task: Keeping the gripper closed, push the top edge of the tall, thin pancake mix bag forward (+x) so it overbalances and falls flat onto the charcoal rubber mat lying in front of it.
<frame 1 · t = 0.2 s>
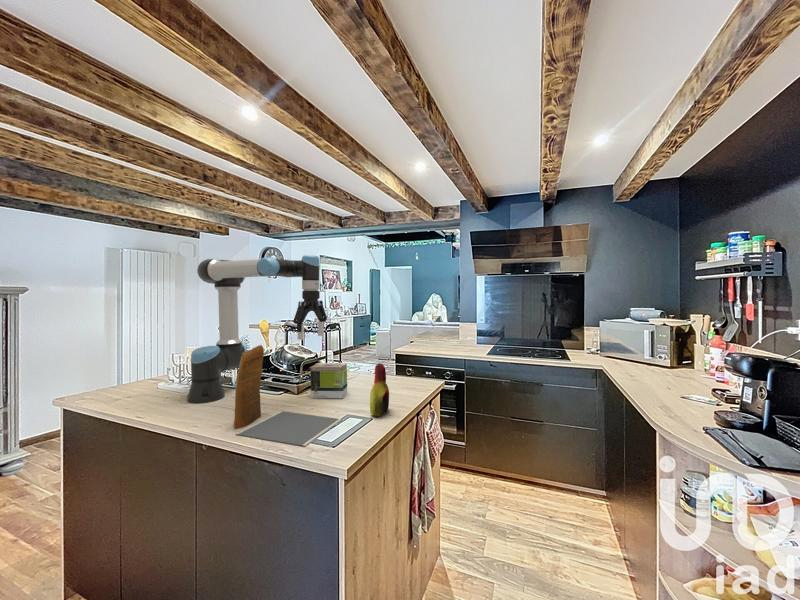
hand: (311, 337, 156), 29 cm above the countertop, fingers open, 13 cm apart
bottle: (380, 413, 141), on the countertop
pancake mix bag: (249, 421, 133), on the countertop
tea box: (329, 396, 165), on the countertop
mat: (291, 427, 127), on the countertop
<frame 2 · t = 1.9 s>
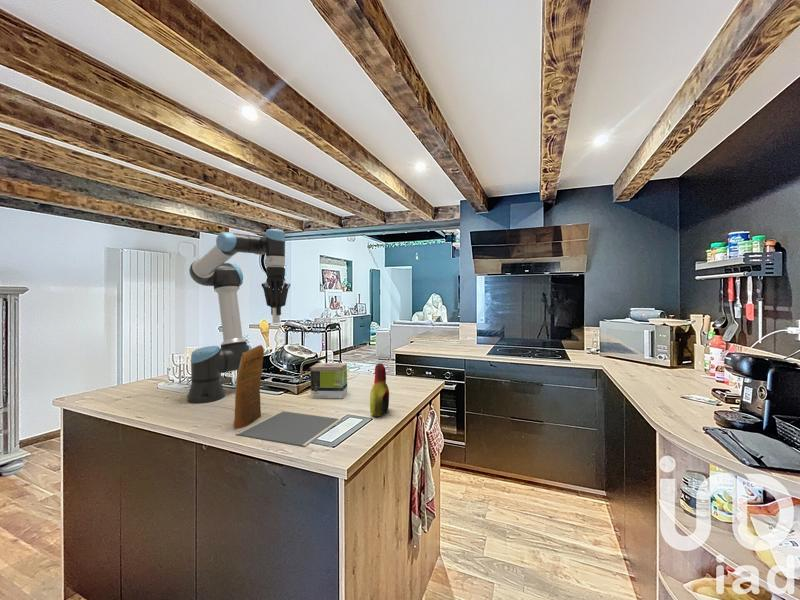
hand: (276, 322, 147), 36 cm above the countertop, fingers closed
nothing on the countertop moved.
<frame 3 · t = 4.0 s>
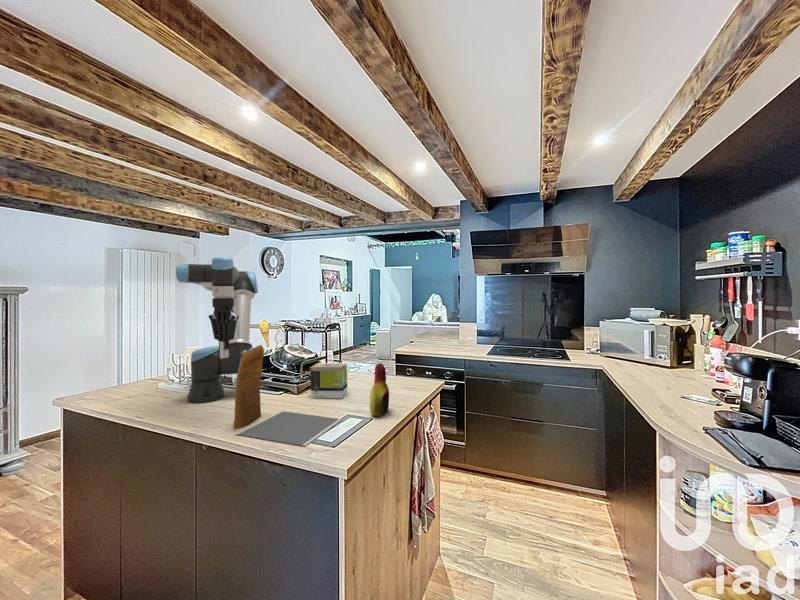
hand: (224, 357, 136), 24 cm above the countertop, fingers closed
nothing on the countertop moved.
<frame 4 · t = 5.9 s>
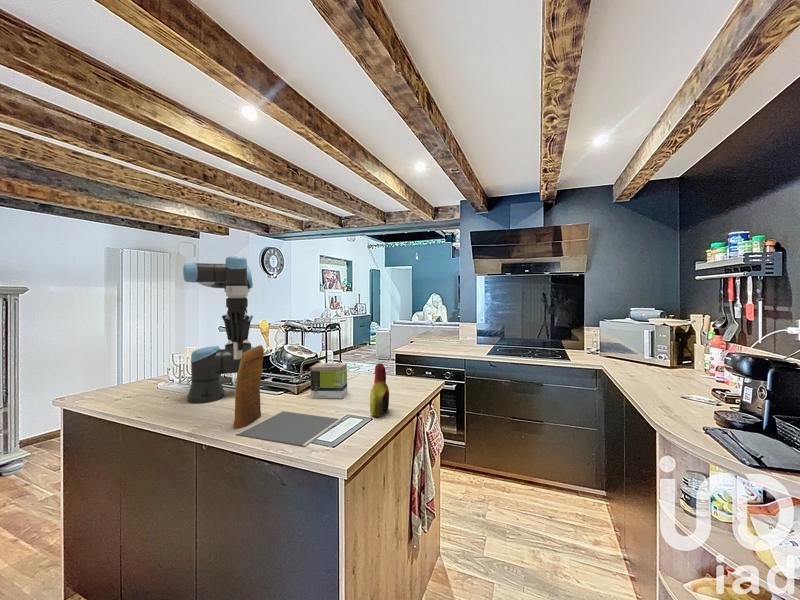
hand: (238, 358, 134), 24 cm above the countertop, fingers closed
nothing on the countertop moved.
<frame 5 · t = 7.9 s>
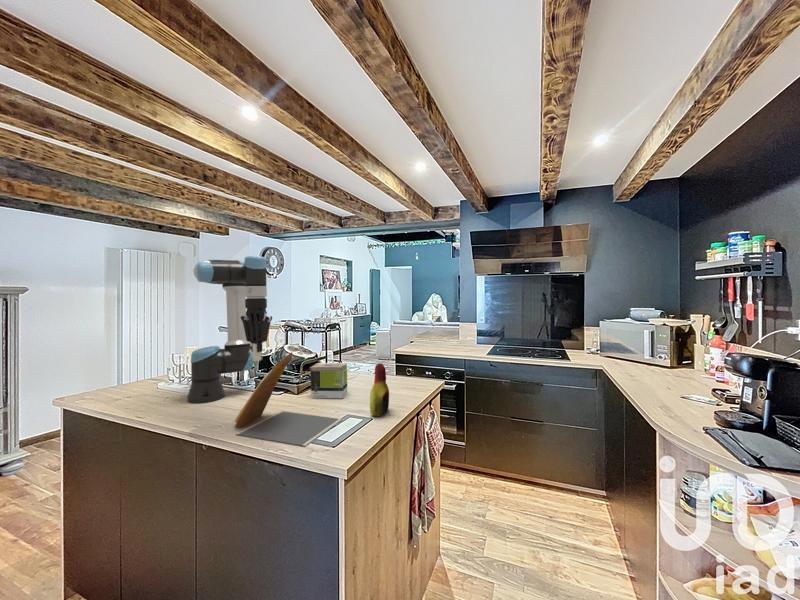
hand: (257, 360, 131), 23 cm above the countertop, fingers closed
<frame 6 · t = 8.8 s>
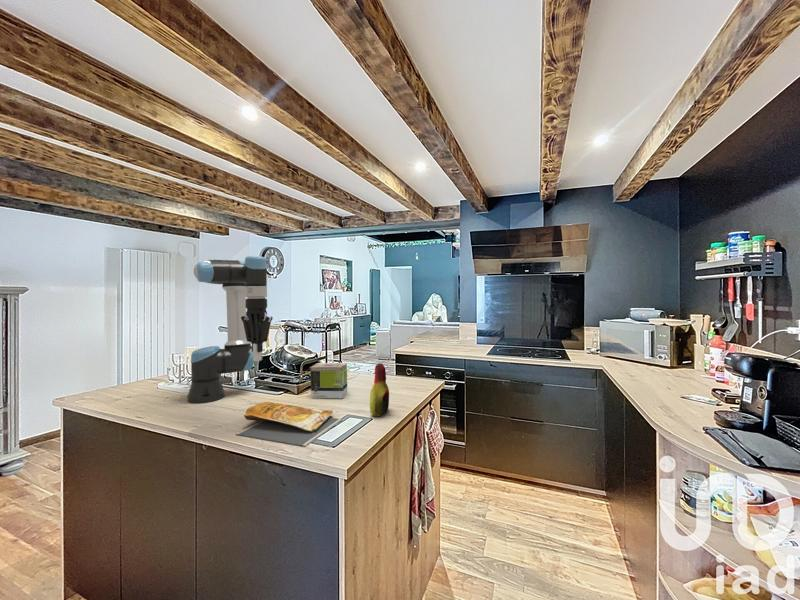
hand: (257, 360, 131), 23 cm above the countertop, fingers closed
pancake mix bag: (255, 412, 134), point 3 cm above the countertop, touching mat
everything else where it was.
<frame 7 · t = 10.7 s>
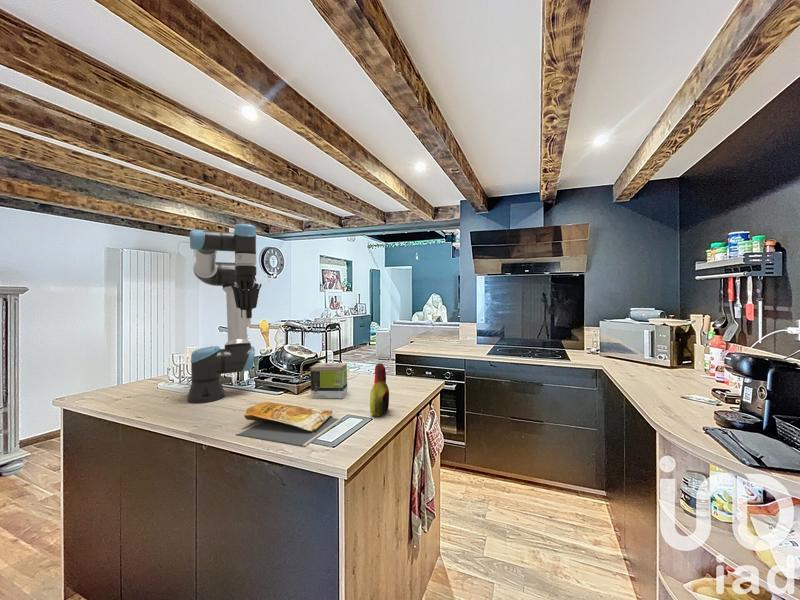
hand: (246, 326, 135), 36 cm above the countertop, fingers closed
nothing on the countertop moved.
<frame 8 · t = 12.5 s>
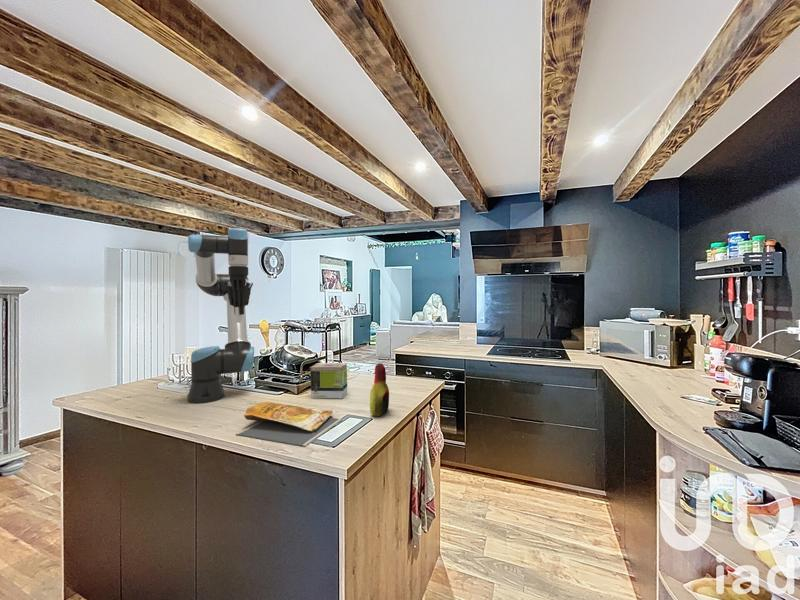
hand: (239, 322, 146), 36 cm above the countertop, fingers closed
nothing on the countertop moved.
at the end: pancake mix bag tilted 90°; pancake mix bag inside the target area (11.4 cm from its centre), point 3.0 cm above the countertop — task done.
